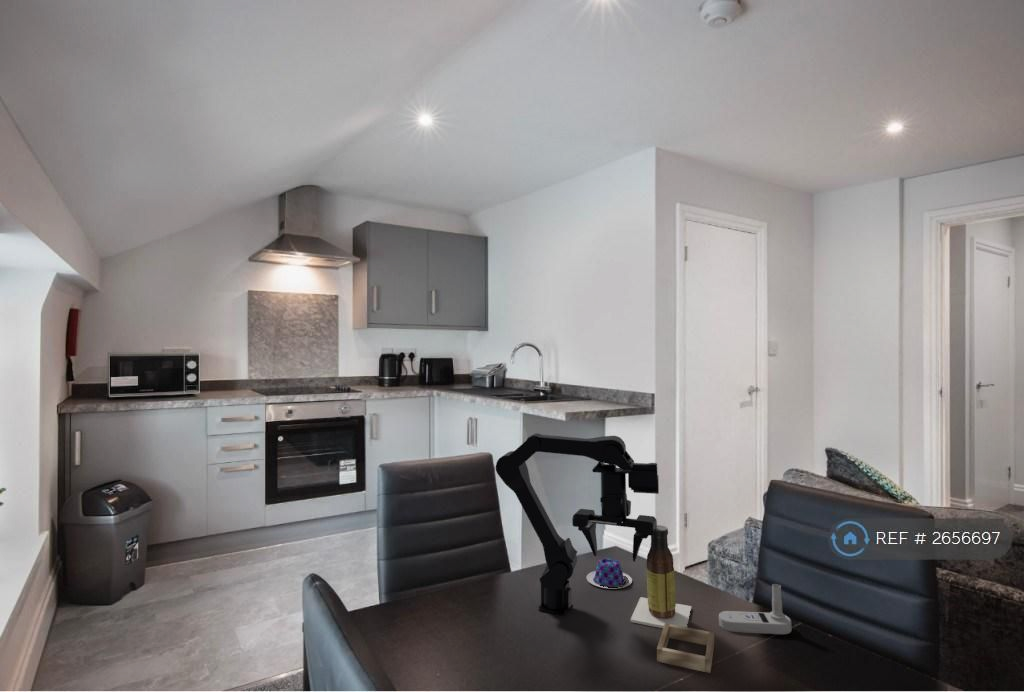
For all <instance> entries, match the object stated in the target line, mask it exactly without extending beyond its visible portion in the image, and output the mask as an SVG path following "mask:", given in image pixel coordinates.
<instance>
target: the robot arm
mask: <svg viewBox="0 0 1024 692" xmlns="http://www.w3.org/2000/svg"><path fill="white" fill-rule="evenodd" d="M539 452H540V453H546V454H547V453H548V454H558V455H560V454H561V455H568V456H569V455H570V456H579V457H580V456H581V457H586V458H588V459H591V460H593V461H596V462H597V464H595V465H594V467H592V471H591V472H592V473H600V492H601V494H600V506H601V515H600V514H596V513H595V510H594V509H587V508H580V509H578V510H577V511H576V512H575V513H574V514H573V515H572V526H573V527H576V528H577V529H578V531H579V532H581V533H582V534H583V535H584V538H585V539H586V541H587V543H588V545H589V547H590V550H591V551H592V554H593V556H594V557H597V556H598V543H597V541H598V540H597V533H596V531H597V524H598V525H604V526H605V525H607V526H608V525H609V526H616V527H624V528H633V529H634V531H635V532H634V534H633V542H632V543H633V544H632V561H633V563H635V562H636V561H637V558H638V554H639V551H640V547H641V545H642V542H643V540H644V539H648V537H649V536H650V537H651V535H653V534H654V533H655V531H656V529H657V525H658V524H657V522H658V521H657V518H656V517H655V516H652V515H643V514H639V515H638V516H637V518H629V516H630V515H631V512H632V511H631V507H632V500H629V499H628V494H627V486H628V488H629V489H630V490H631V491H632V492H633V493H638V494H653V495H654V494H655V495H659V493H660V492H659V480H660V479H659V475H658V463H657V462H648V463H644V462H642V463H641V462H638V463H637V462H635V460H634V459H633V458H632V457H631V455H630V454H629V453H628V451H627V448H626V443H625V441H624V440H623V439H622V438H621V437H619V436H617V435H607V436H606V435H605V436H597V437H591V438H590V437H589V438H584V437H583V438H580V437H572V436H571V437H570V436H560V435H559V436H558V435H550V434H549V435H548V434H540V433H538V432H537V433H533V434H531V435H530V436H528V437H527V438H526V440H525V441H524V442H522V444H521V445H519V446H518V447H517V448H516V449H514V450H510V451H508V452H506V453H505V454H504V455H502V456H500V457H499V458H498V460H497V461H496V464H495V471H496V474H497V475H498V476H499V478H500V480H502V482H503V483H504V485H506V486H507V487H508V488H509V489H510V490H511V491H512V492H514V494H515V496H516V498H517V500H518V501H519V503H520V505H521V507H522V509H523V510H524V513H525V516H526V517H527V519H528V520H529V522H530V524H531V526H532V528H533V529H534V532H535V534H536V536H537V537H538V539H539V541H540V543H541V545H542V549H543V554H544V558H545V559H544V560H545V563H546V566H545V568H544V570H543V572H542V574H541V575H540V578H539V582H540V604H539V606H538V611H543V612H546V613H551V614H557V615H562V616H564V615H565V614H567V611H568V610H569V609H570V608H571V606H572V605H573V604H572V600H573V599H572V598H573V597H572V596H573V595H572V593H573V592H572V587H570V580H569V579H571V577H573V574H574V571H575V569H576V566H577V563H578V557H577V555H578V550H576V549H575V547H574V545H573V543H572V541H571V538H569V537H567V538H566V539H563V538H562V537H561V536H560V534H558V532H557V530H556V528H555V527H554V524H553V523H552V521H551V519H550V517H549V515H548V513H547V512H546V509H545V507H544V506H543V504H542V502H541V500H540V497H539V496H538V495H537V494H538V493H536V490H535V489H534V486H533V485H532V482H531V479H530V473H529V468H528V465H527V461H528V460H529V459H530V458H531V457H533V456H534V455H535V454H536V453H539ZM627 474H628V475H627ZM626 475H627V476H628V479H626V478H627V477H626ZM627 481H628V482H627ZM627 484H628V485H627ZM627 517H628V518H627Z"/></svg>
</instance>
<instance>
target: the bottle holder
mask: <svg viewBox="0 0 1024 692" xmlns="http://www.w3.org/2000/svg"><path fill="white" fill-rule="evenodd" d="M669 639H672V640H678V641H682V642H688V643H694V644H699V645H703V646H706V650H705V655H701V654H696V653H691V652H688V651H681V650H676V649H672V648H667V647H668V644H669ZM714 647H715V632H714V631H710V630H709V631H707V630H703V629H698V628H692V627H688V626H687V627H683V626H678V625H672V624H667V623H665V625H664V628H662V631H661V634H660V638H659V640H658V644H657V647H656V662H658V663H662V664H663V663H664V664H668V665H671V666H676V667H681V668H684V669H685V668H686V669H688V670H689V669H690V670H694V671H698V672H704V673H708V674H711V671H712V663H713V657H714V656H713V655H714V649H715V648H714Z"/></svg>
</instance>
